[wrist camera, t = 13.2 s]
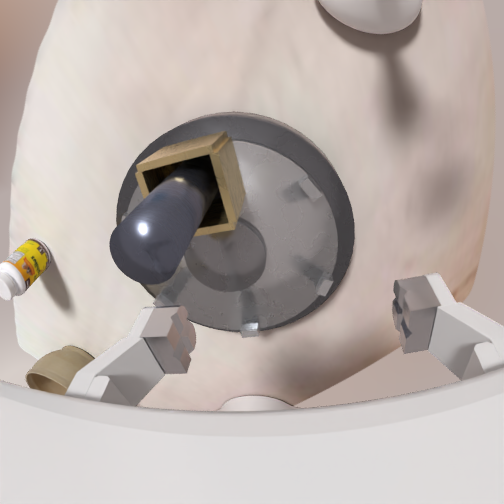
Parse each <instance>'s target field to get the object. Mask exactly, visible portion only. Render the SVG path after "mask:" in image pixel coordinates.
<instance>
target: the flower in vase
mask: <svg viewBox="0 0 504 504" xmlns="http://www.w3.org/2000/svg"><path fill="white" fill-rule="evenodd" d="M318 1H319V2H320V4H321V5H322V6H323V7H324V8H325V10H326V11H327V12H329V13H330V14H331V15H332V16H333V17H334V18H336V19H337V20H338V21H340V22H342V23H343V24H345V25H347V26H349V27H351V28H354V29H356V30H359V31H363V32H366V33H373V34H389V33H394V32H397V31H400V30H402V29H404V28H406V27H408V26H409V25H410V24H411V23H412V22H413V21H414V20H415V19H416V18H417V16H418V14H419V12H420V10H421V6H422V0H318Z"/></svg>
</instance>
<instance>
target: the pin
mask: <svg viewBox="0 0 504 504" xmlns="http://www.w3.org/2000/svg"><path fill="white" fill-rule="evenodd" d="M218 190H219V186H218V183H217V179H216V175H215V172H214V168H213V165H212V161H211V158H210V154H207V155H203V156H199V157H195V158H191V159H187V160H185V161H184V162H183V163H182V164H180V165H179V166H178V167H177V168H176V169H175V170H174V171H173V172H172V173H171V174H170V175H169V176H167V177H166V178H165V179H164V180H163V181H162V182H161V183H160V184H159V185H158V186H157V187H156V188H155V189H154V190H153V191H152V192H151V193H150V194H149V195H148V196H147V197H146V198H145V199H144V200H143V201H142V202H140V203H139V204H138V205H137V206H136V207H135V208H134V210H133V211H132V212H131V213H130V214H129V215H128V216H127V217H126V218H125V219H124V220H123V221H122V222H121V223H120V224H119V225H118V226H117V227H116V228H115V229H114V231H113V232H112V235H111V238H110V252H111V255H112V258H113V260H114V262H115V264H116V265H117V266H118V268H119V269H120V270H121V271H122V272H123V273H124V274H125V275H126V276H128V277H129V278H131V279H133V280H135V281H137V282H139V283H143V284H149V285H155V284H160V283H163V282H165V281H167V280H169V279H170V278H171V277H172V276H173V275H174V273H175V271H176V269H177V267H178V265H179V263H180V262H181V260H182V258H183V256H184V254H185V252H186V250H187V248H188V246H189V244H190V242H191V240H192V238H193V236H194V235H195V233H196V231H197V229H198V227H199V225H200V223H201V221H202V220H203V218H204V216H205V214H206V212H207V210H208V208H209V207H210V205H211V203H212V201H213V199H214V197H215V196H216V194H217V192H218Z"/></svg>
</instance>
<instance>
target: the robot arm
mask: <svg viewBox="0 0 504 504" xmlns="http://www.w3.org/2000/svg"><path fill="white" fill-rule="evenodd" d="M393 291H394V293H395V296H396V298H395V299H394V300H393V307H392V311H393V320H394V324H395V327H396V329H397V330H398V331H400V336H399V340H400V343H401V346H402V349H403V352H404V354H406V353H411V352H418V351H423V350H428V351H429V352H430V353H431V354H432V355H433V356H435V357H436V358H437V359H438V360H439V361H440V362H441V363H442V364H444V365H445V366H446V367H447V368H448V369H449V370H450V371H451V372H453V373H454V374H455V375H456V376H457V377H458V378H459V379H460V380H461V381H459V382H455V383H451V384H448V385H444V386H440V387H435V388H431V389H427V390H422V391H417V392H413V393H408V394H403V395H398V396H393V397H387V398H381V399H375V400H369V401H362V402H356V403H348V404H341V405H332V406H323V407H312V408H298V407H293V406H291V405H289V404H287V403H285V402H283V401H281V400H278V399H274V398H270V397H265V396H242V397H237V398H234V399H231V400H229V401H227V402H226V403H225V404H224V405H223V406H222V408H221V409H220V410H217V411H193V410H174V409H159V408H148V407H137V406H136V405H137V404H138V403H139V402H140V401H141V400H142V399H143V398H144V397H145V396H146V395H147V394H148V393H149V391H150V390H151V389H152V388H153V387H154V386H155V385H156V384H157V383H158V382H159V381H160V380H161V379H162V378H163V377H164V376H165V374H183V373H187V371H188V368H189V364H190V361H191V358H190V356H189V353H191V352H192V351H193V350H194V348H195V344H196V333H195V329H194V326H193V324H192V323H191V322H190V321H188V320H187V316H188V312H187V310H186V308H185V307H184V306H182V305H174V306H157V307H145V308H143V309H142V310H141V312H140V314H139V316H138V317H137V319H136V321H135V323H134V325H133V327H132V329H131V331H130V333H129V334H128V336H127V338H122V339H121V340H120V341H118V342H117V343H116V344H114V345H113V346H112V347H110V348H109V349H108V350H106V351H105V352H103V353H102V354H101V355H99V356H98V357H97V358H95V359H94V360H93V361H91V362H90V363H89V364H87V365H86V366H85V367H83V368H82V369H81V370H79V371H78V372H77V373H76V375H75V377H74V378H73V380H72V382H71V384H70V386H69V388H68V390H67V391H66V393H65V395H64V396H63V395H58V394H54V393H49V392H44V391H40V390H36V389H31V388H27V387H23V386H20V385H16V384H12V383H8V382H5V381H2V380H0V504H504V326H502V325H500V324H499V323H497V322H495V321H493V320H492V319H489V318H488V317H486V316H484V315H483V314H481V313H479V312H477V311H475V310H474V309H472V308H470V307H468V306H466V305H465V304H463V303H461V302H459V303H456V301H455V299H454V298H453V296H452V294H451V293H450V291H449V289H448V288H447V286H446V284H445V283H444V281H443V279H442V278H441V276H440V274H439V273H437V272H436V273H431V274H426V275H423V276H418V277H412V278H406V279H400V280H395V282H394V290H393Z"/></svg>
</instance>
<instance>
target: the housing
mask: <svg viewBox="0 0 504 504" xmlns="http://www.w3.org/2000/svg"><path fill="white" fill-rule="evenodd" d="M223 131H226V132H227V135H228V137H232V138H233V139H243V140H249V141H253V142H257V143H261V144H264V145H266V146H269V147H271V148H274V149H276V150H278V151H280V152H281V153H283V154H285V155H287V156H289V157H290V158H292V159H293V160H294V161H295V162H297V163H298V164H299V165H301V166H302V167H303V168H304V169H305V170H306V171H307V172H308V173H309V174H310V175H311V176H312V177H313V178H314V180H315V181H316V182H317V184H318V185H319V186H320V188H321V189H322V191H323V193H324V195H325V196H326V198H327V200H328V202H329V205H330V208H331V211H332V213H333V216H334V220H335V224H336V229H337V236H338V250H337V258H336V263H335V266H334V270H333V273H332V277H333V283H332V285H331V287H330V289H329V291H328V292H327V294H326V296H322V295H319V296H318V297H317V298H316V300H315V301H314V302H313V303H311V304H310V305H309V306H308V307H307V308H306V309H305V310H303V311H302V312H300V313H299V314H297V315H296V316H294V317H292V318H290V319H288V320H286V321H284V322H281V323H279V324H276V325H273V326H269V327H265V328H260V331H263V330H269V329H273V328H277V327H281V326H284V325H287V324H289V323H292V322H294V321H296V320H298V319H300V318H302V317H304V316H306V315H307V314H309V313H310V312H312V311H313V310H315V309H316V308H317V307H319V306H320V305H321V304H322V303H323V302H324V301H325V300H327V298H328V297H329V296H330V295H331V294H332V293H333V292H334V290H335V289H336V288H337V286H338V285H339V283H340V282H341V280H342V278H343V276H344V274H345V272H346V270H347V268H348V266H349V262H350V259H351V256H352V252H353V245H354V218H353V212H352V207H351V204H350V201H349V198H348V195H347V192H346V190H345V188H344V186H343V184H342V182H341V180H340V178H339V176H338V174H337V172H336V171H335V169H334V167H333V165H332V164H331V162H330V161H329V160H328V158H327V157H326V156H325V154H324V153H323V152H322V151H321V150H320V149H319V148H318V147H317V146H316V145H315V144H314V143H313V142H312V141H311V140H310V139H308V138H307V137H306V136H304V135H303V134H302V133H301V132H299V131H297V130H296V129H294V128H292V127H290V126H289V125H287V124H285V123H282V122H280V121H277V120H275V119H272V118H270V117H266V116H262V115H257V114H253V113H243V112H223V113H215V114H210V115H205V116H202V117H199V118H196V119H193V120H190V121H188V122H186V123H184V124H182V125H180V126H178V127H176V128H174V129H172V130H170V131H169V132H167V133H165V134H163V135H162V136H160V137H159V138H158V139H156V140H155V141H154V142H152V143H151V144H150V145H149V146H148V147H147V148H146V149H145V150H144V151H143V152H142V153H141V154H140V155H139V156H138V157H137V159H136V160H135V162H134V163H133V164H132V166H131V167H130V169H129V171H128V173H127V175H126V177H125V179H124V181H123V184H122V187H121V190H120V193H119V198H118V203H117V217H116V222H117V226H118V225H119V224H120V223H121V222H122V215H123V214H124V213H125V212H126V211H128V207H129V204H130V201H131V198H132V196H133V194H134V192H135V190H136V188H137V186H138V181H137V178H136V175H135V173H137V172H138V170H137V167H136V165H137V164H139V163H140V162H142V161H143V160H145V159H146V158H148V157H149V156H150V155H152V154H153V153H155V152H157V151H158V150H160V149H161V148H163V147H165V146H169V145H172V144H176V143H180V142H183V141H187V140H191V139H194V138H198V137H202V136H206V135H210V134H214V133H219V132H223ZM141 285H142V286H143V287H144V288H145V289H146V290H147V292H148V293H149V294H151V295H152V296H153V297H154V298H156V296H155V295H154V294H153V293H152V292H151V290H150V289H149V288H148V287H147V286H146V285H145V284H143V283H141ZM187 320H189V321H191V322H194V323H197V324H200V325H202V326H206V327H209V328H213V329H218V330H224V331H232V332H240V330H227V329H220V328H215V327H211V326H207V325H203V324H201V323H198V322H195V321H193V320H190V319H188V318H187Z"/></svg>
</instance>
